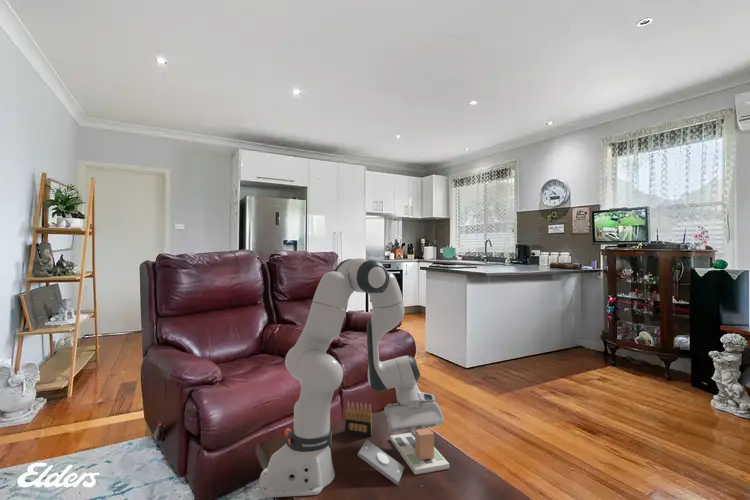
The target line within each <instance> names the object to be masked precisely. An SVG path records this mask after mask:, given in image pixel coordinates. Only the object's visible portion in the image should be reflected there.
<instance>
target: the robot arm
mask: <svg viewBox="0 0 750 500" xmlns="http://www.w3.org/2000/svg"><path fill="white" fill-rule="evenodd" d="M400 288H401V287H400V285H399V283H398V281H397V278H396V275H395V274H393V273H392V272H390V271H388V270H387V268H386V267H385V265H383V263H381V262H379V261H376V260H374V259H365V258H348V259H344V260H342V261H341V262H340V263H338V265H337V266H336V268H335V269H334V270H332V271H328V272H326V273H324V274H322V277H321V279H320V281H319V283H318V285H317V288H316V289H315V292H314V295H313V297H312V302H311V305H310V309H309V313H308V316H307V319H306V322H305V325H304V328H303V330H302V331H301V334H300V336H299V337H298V338H297V341H296V343H295V344H294V346H292V347H291V348H290V349H289V350H288V352H287V353H286V355H285V359H284V364H285V367H286V369H287V372H288V373H289V375H291V377H292V378H294V379H295V380H297V381H298V382H299V383H300V394H299V398H298V400H297V401H296V402H295V403H294V407H293V430H291V429H290V428H289V427H288V428H285V430H284V436H285V437H286V443H285V444H284V445H283V446H282V447H280V448H279V449H278V450H277V451H275V452H274V453H272V455H270V459H269V460H268V466H267V467H266V468H264V469H263V471H261V473H260V476H259V482H258V483H259V484H258V487H259V491H260V493H261V495H262V496H264V497H265V498H280V497H281V498H284V497H299V496H300V497H301V496H316V495H319V494H320V493H321V492H322V490H323V489H324V488H325V487H327V486H328V485H330V484H331V483H332V482H333V481H334V479H335V476H336V473H335V469H334V465H333V460H332V452H331V449H332V441H333V438H332V437H333V436H332V435H333V434H332V433H333V432H332V429H331V404H332V399H333V396H334V392H335V391H336V390H338V388H339V387H340V386H341V384H342V383H343V378H344V369H343V367H342V365H341V363H339V361H338V360H336V358H335V357H334V356H332V355H330V354H328V353H327V351H328V349H329V347H330V346H331V343H332V342H333V341H334V339H336V338H337V337H339V335H340V333H341V331H342V328H343V324H344V320H345V316H346V312H347V307H348V303H349V301H350V297H351V295H352V294H354V292H356V293H367V294H368V295H369V297H370V303H371V306H372V307H371V308H372V314H371V318H370V320H368V321H367V324H366V345H367V346H366V347H367V361H368V364H367V365H368V368H367V380H368V385H369V387H370V388H371V389H372V390H374V391H376V392H377V393H378V392H379V393H381V392H385V391H387V390H389V389H393V388H394V389H395V391H396V395H395V397H396V400H397V402H395V403H387V405H385V406H384V408H383V410H384V411H383V412H384V415H385V416H386V424H387V425H386V426H387V430H388V431H389V432H390V433H396V432H397V433H398V432H405V431H409V433H411V434H412V435H413V436H414V437H415V430H419V429H426V428H432V427H440V426H442V425H443V423H444V415H443V413H442V409H441V406H440V405H439V404H438V402H436V398H435V395H434V394H432V393H431V394H430V393H427V392H423V391H421V390H420V388H419V387H418V384H417V383H418V381H419V380H420V377H421V371H420V370H419V368H418V364H417V360H416V358H414V357H413V356H411V355H403V356H399V357H395V358H391V359H387V360H384V361H381V360H380V352H379V351H380V350H379V342H380V341H381V338H382V337H383V336H385V335H386V334H387V333H388V332H390V331H392V330H393V329H394V328H396V327H398V325H399V324H400V323H401V322H402V320H403V319H404V316H405V313H406V312H405V303H404V298H403V294H402V291H401V289H400Z"/></svg>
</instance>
